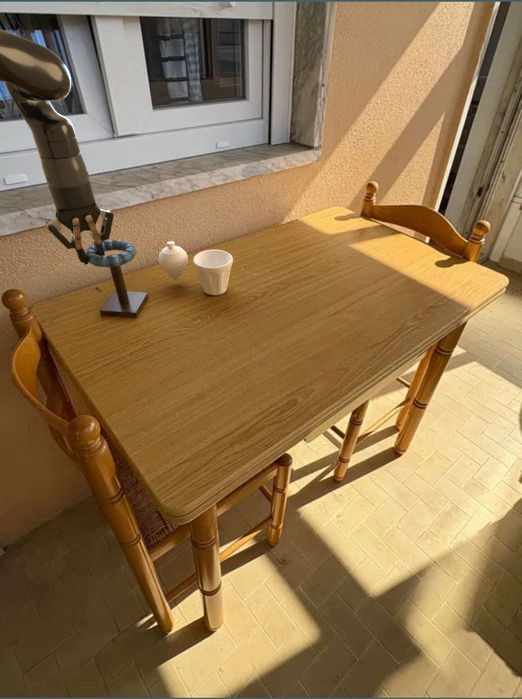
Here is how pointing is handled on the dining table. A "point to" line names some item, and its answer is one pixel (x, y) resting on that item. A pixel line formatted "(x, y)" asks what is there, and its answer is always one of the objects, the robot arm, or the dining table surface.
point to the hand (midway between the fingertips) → (92, 260)
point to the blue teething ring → (114, 259)
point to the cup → (213, 270)
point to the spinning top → (173, 261)
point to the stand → (123, 298)
